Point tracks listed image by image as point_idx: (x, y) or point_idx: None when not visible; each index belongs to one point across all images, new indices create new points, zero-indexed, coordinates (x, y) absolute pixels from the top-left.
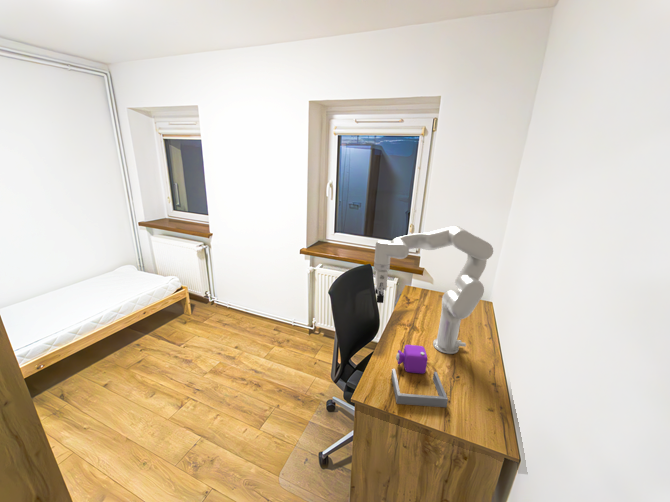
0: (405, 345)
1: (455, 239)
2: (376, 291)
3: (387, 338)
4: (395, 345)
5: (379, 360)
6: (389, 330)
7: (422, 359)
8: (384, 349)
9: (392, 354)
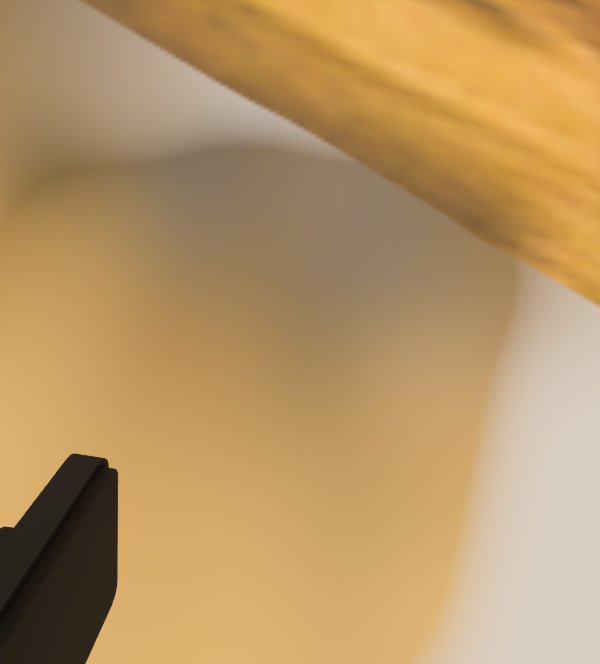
0: None
1: None
2: (85, 642)
3: (285, 98)
4: (400, 45)
5: (578, 252)
6: (147, 35)
7: None
8: (447, 173)
9: (526, 117)
